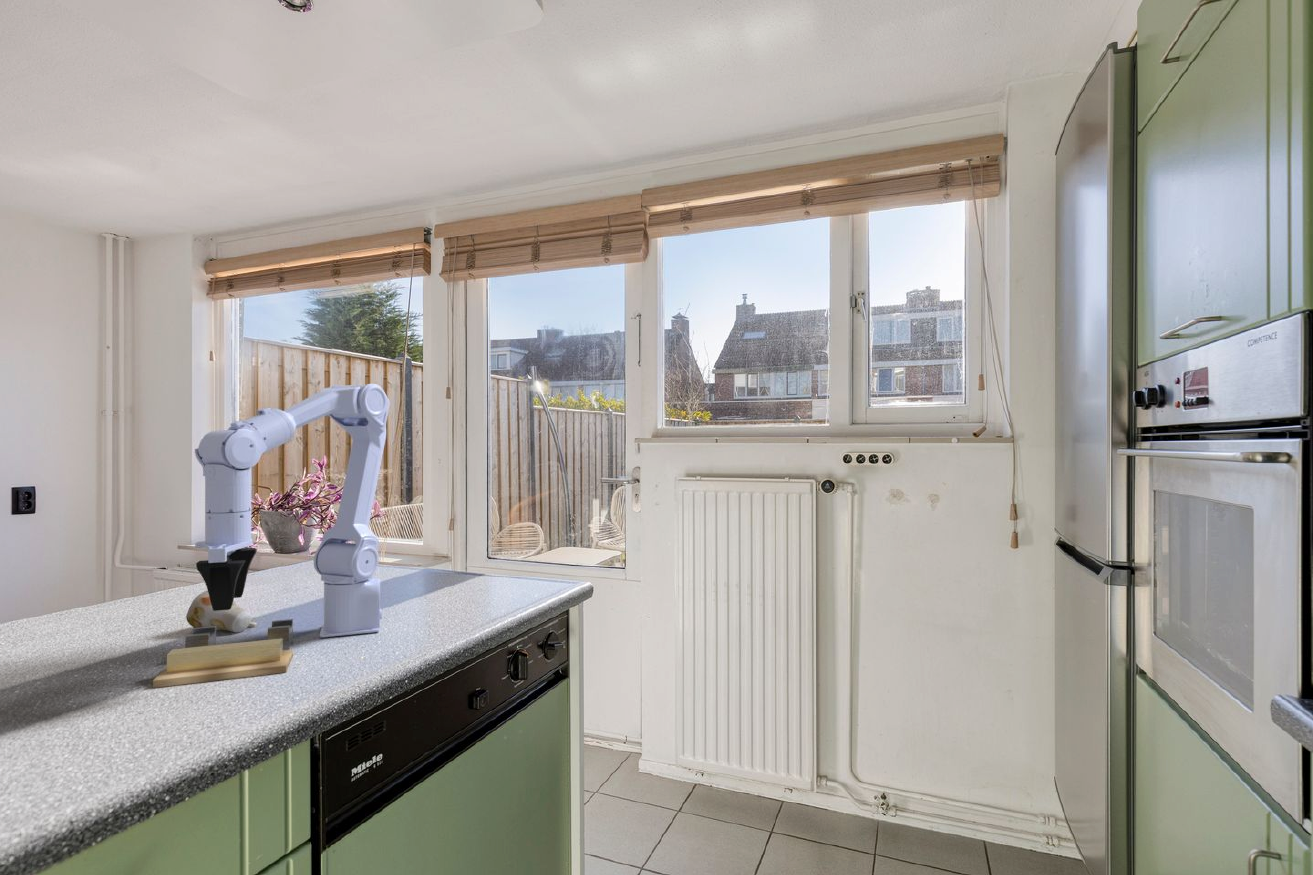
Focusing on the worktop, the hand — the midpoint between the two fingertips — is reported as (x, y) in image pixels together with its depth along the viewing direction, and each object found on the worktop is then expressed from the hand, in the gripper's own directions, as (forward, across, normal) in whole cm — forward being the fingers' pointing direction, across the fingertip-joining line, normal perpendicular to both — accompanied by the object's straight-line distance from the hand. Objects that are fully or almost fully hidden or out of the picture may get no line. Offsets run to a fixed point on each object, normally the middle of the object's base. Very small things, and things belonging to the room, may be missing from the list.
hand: (228, 603), depth 96 cm
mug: (+10, -24, -5) cm, 27 cm away
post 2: (+10, -10, +6) cm, 15 cm away
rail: (+9, 0, 0) cm, 9 cm away
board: (+10, 0, 0) cm, 10 cm away
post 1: (+10, -10, -6) cm, 15 cm away
